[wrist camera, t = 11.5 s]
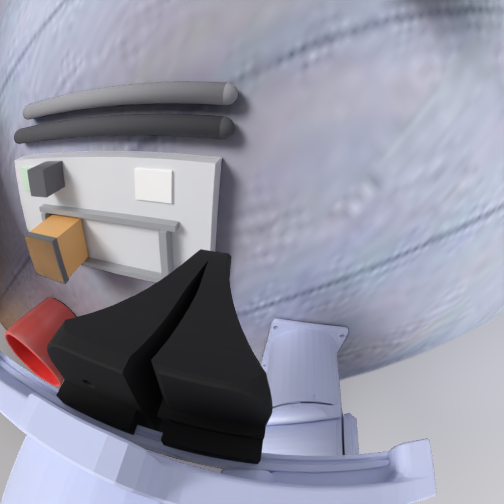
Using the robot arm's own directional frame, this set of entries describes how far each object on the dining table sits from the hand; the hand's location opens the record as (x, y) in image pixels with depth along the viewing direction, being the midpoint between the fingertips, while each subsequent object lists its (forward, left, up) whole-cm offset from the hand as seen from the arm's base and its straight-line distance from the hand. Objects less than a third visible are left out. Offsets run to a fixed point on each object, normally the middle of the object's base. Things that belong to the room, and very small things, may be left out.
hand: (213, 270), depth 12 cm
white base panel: (-3, +13, -10) cm, 17 cm away
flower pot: (-22, +26, -10) cm, 36 cm away
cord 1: (+7, +12, -10) cm, 17 cm away
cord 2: (+5, +13, -10) cm, 17 cm away
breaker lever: (-5, +16, -8) cm, 18 cm away
